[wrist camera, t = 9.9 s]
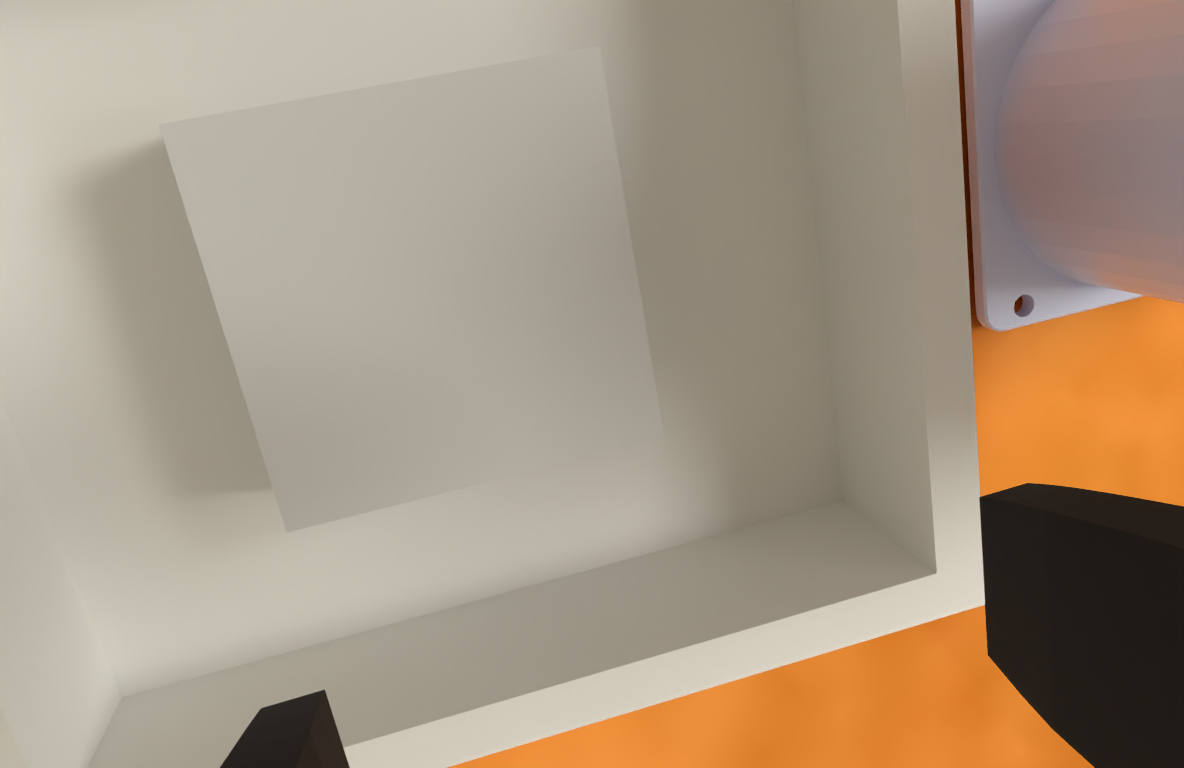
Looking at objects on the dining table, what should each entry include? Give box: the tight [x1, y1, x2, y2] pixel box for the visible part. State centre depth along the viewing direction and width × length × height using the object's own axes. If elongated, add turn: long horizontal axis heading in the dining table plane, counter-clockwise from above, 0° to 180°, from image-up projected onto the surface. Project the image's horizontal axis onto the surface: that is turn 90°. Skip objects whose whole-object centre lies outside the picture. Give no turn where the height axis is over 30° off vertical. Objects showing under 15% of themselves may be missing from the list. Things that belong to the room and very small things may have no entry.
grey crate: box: [0, 0, 985, 768], centre depth 16 cm, size 18×16×4 cm
